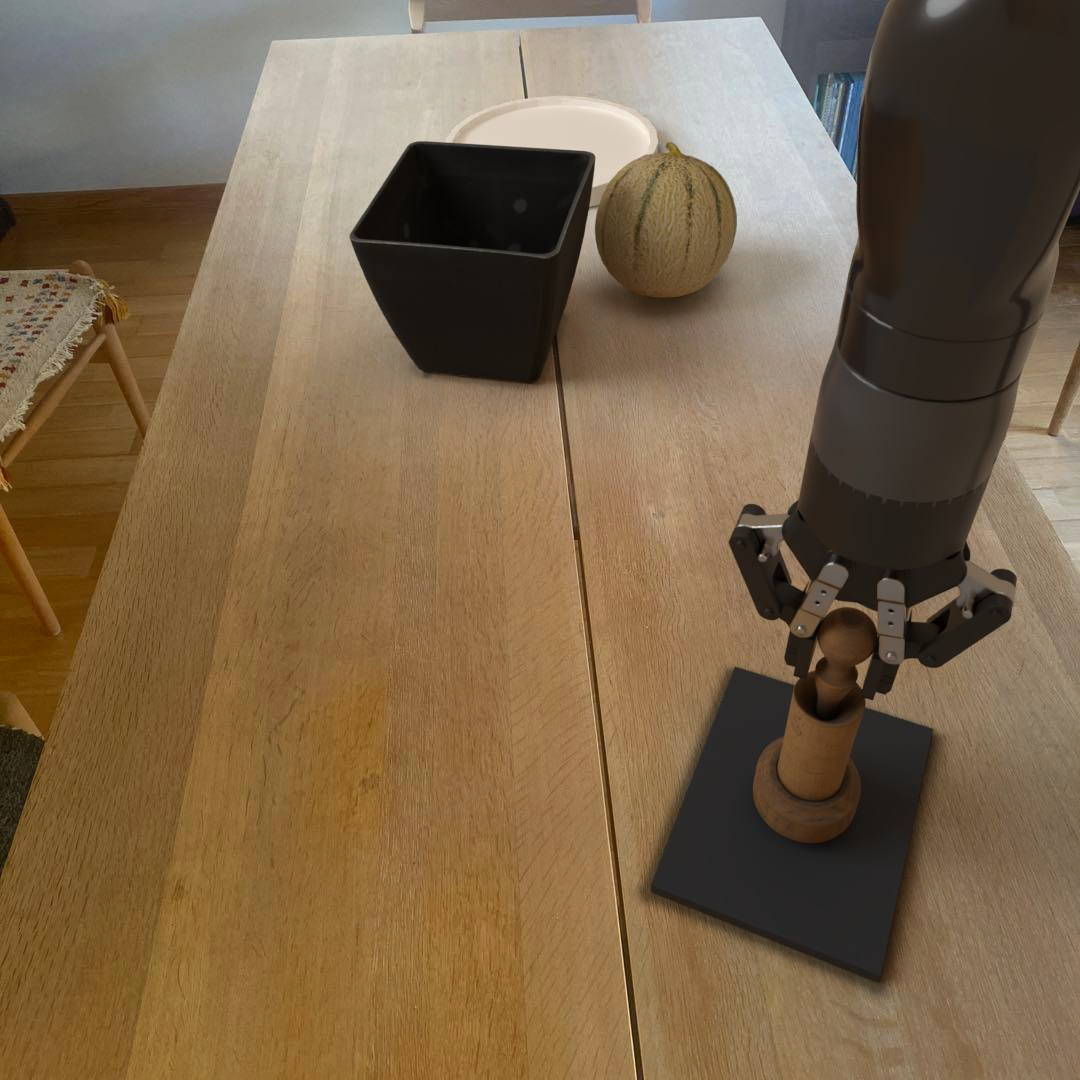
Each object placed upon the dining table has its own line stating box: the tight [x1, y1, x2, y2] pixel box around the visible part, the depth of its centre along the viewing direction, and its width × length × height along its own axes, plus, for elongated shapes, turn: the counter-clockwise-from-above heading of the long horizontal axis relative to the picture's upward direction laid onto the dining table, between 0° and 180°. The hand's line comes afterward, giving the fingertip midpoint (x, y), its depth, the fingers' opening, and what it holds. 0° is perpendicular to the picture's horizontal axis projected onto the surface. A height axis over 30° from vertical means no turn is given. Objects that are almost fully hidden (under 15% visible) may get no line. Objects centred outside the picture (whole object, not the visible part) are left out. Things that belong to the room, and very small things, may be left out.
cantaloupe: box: [594, 141, 738, 298], centre depth 104 cm, size 15×15×15 cm
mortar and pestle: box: [753, 606, 878, 843], centre depth 58 cm, size 7×6×18 cm
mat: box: [650, 666, 934, 983], centre depth 65 cm, size 14×18×1 cm
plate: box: [444, 95, 659, 208], centre depth 131 cm, size 28×28×2 cm
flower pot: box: [348, 140, 595, 384], centre depth 97 cm, size 19×19×17 cm
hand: (836, 675), depth 55 cm, fingers closed on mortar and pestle, 3 cm apart
